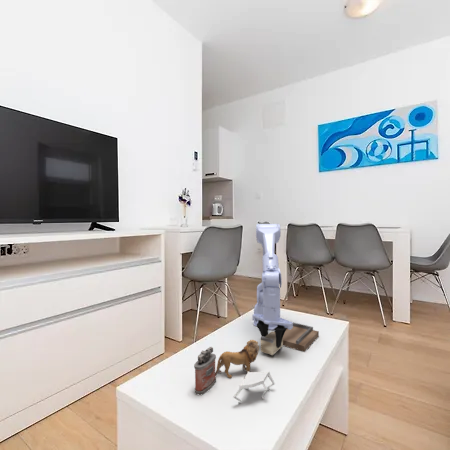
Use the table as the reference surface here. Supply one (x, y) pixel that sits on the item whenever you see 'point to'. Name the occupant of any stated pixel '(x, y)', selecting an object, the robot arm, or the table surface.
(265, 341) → the beige lidded box
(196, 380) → the lighter
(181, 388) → the table surface
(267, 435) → the table surface
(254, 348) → the lion figurine
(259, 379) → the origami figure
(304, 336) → the dock
